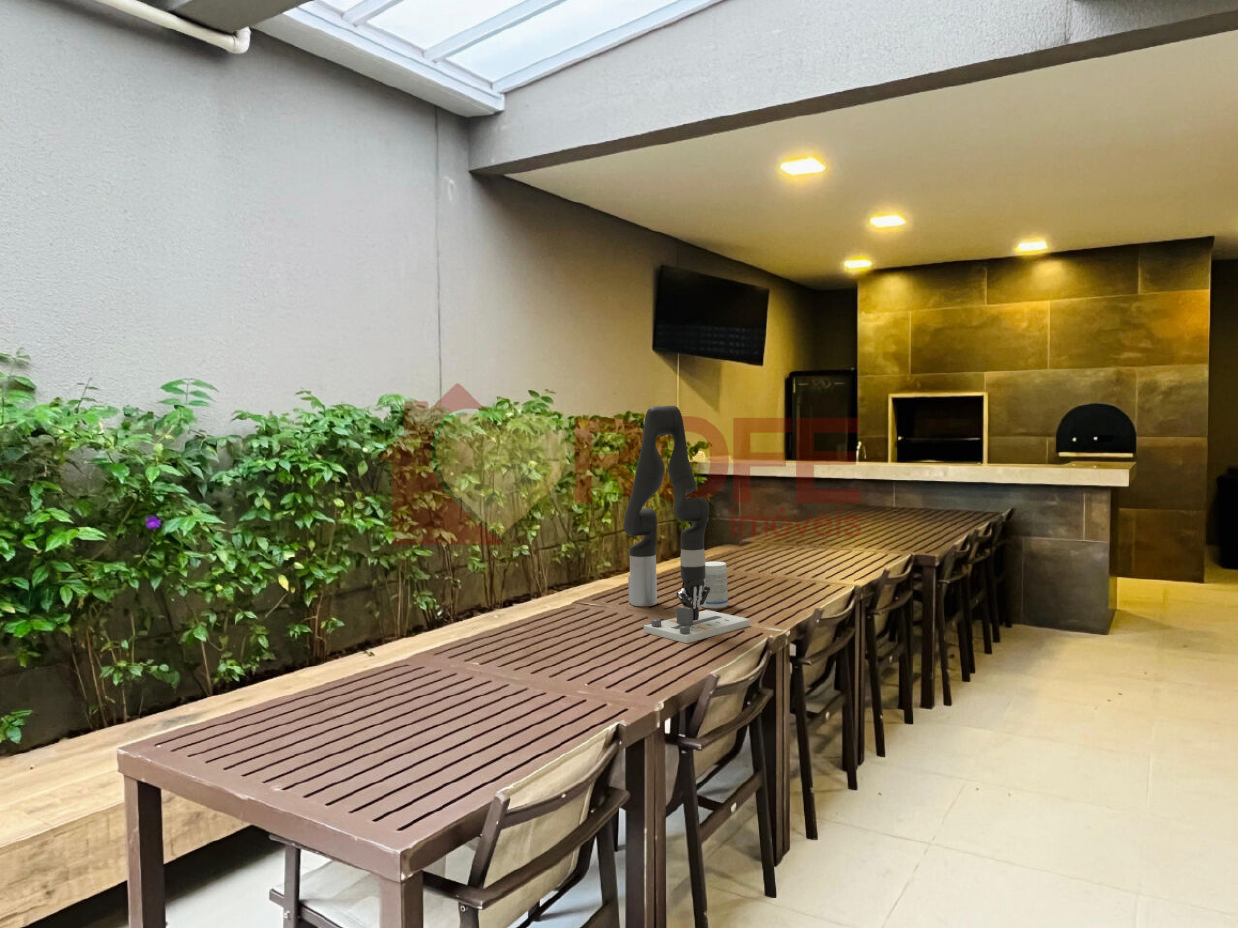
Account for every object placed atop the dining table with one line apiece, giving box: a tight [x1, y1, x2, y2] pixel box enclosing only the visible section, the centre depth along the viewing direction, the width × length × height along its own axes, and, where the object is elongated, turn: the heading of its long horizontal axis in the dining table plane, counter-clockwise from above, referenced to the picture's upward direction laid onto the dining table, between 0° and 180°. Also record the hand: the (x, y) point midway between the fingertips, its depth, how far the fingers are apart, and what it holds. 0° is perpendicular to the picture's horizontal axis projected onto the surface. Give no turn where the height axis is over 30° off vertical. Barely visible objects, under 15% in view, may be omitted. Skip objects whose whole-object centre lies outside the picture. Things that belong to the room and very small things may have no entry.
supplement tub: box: [700, 561, 729, 610], centre depth 281 cm, size 10×10×15 cm
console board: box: [643, 609, 751, 644], centre depth 251 cm, size 18×28×4 cm, turn 131°
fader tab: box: [675, 605, 693, 626], centre depth 248 cm, size 5×2×5 cm, turn 41°
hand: (694, 619), depth 250 cm, fingers closed
